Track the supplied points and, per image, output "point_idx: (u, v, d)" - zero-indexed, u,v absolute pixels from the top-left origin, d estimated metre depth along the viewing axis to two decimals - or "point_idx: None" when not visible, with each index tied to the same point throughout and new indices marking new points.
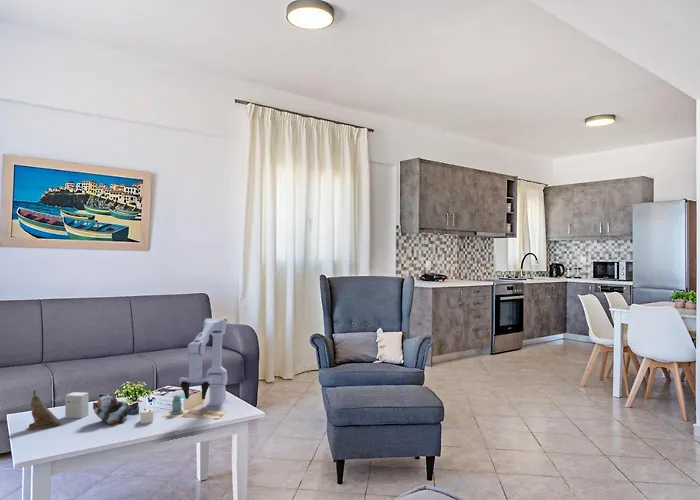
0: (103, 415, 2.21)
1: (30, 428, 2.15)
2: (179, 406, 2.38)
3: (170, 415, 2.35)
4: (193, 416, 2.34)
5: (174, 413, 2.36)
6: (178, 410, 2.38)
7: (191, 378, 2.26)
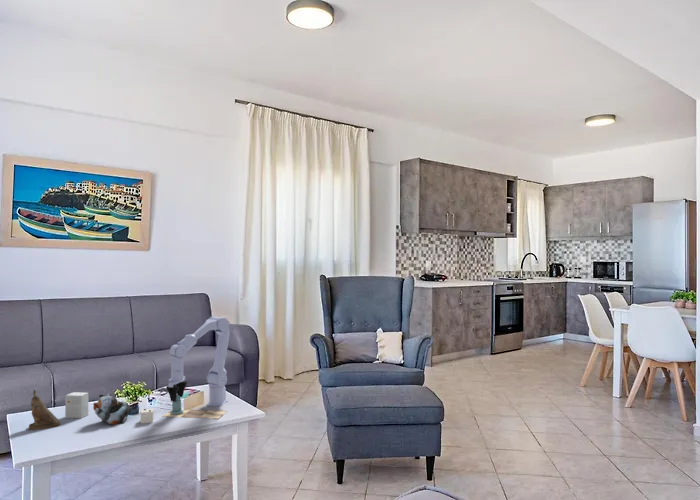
0: (104, 415, 2.20)
1: (30, 428, 2.15)
2: (179, 406, 2.38)
3: (170, 415, 2.35)
4: (193, 416, 2.34)
5: (174, 413, 2.36)
6: (178, 410, 2.38)
7: None
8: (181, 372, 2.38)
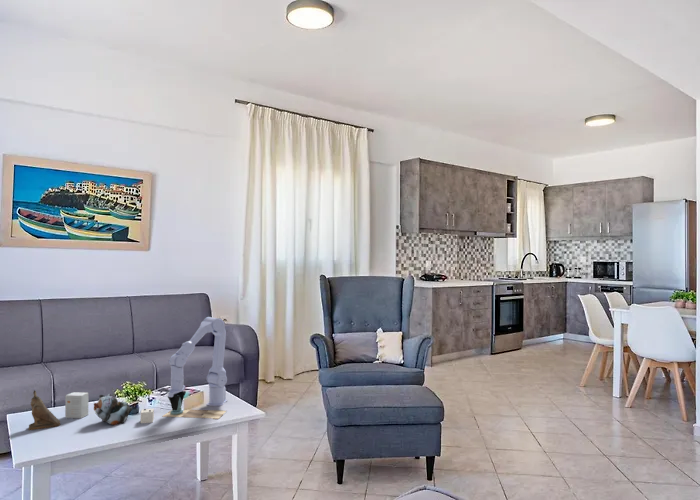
0: (104, 415, 2.20)
1: (30, 428, 2.15)
2: (179, 406, 2.38)
3: (170, 415, 2.35)
4: (193, 416, 2.34)
5: (174, 413, 2.36)
6: (178, 410, 2.38)
7: None
8: (181, 382, 2.38)
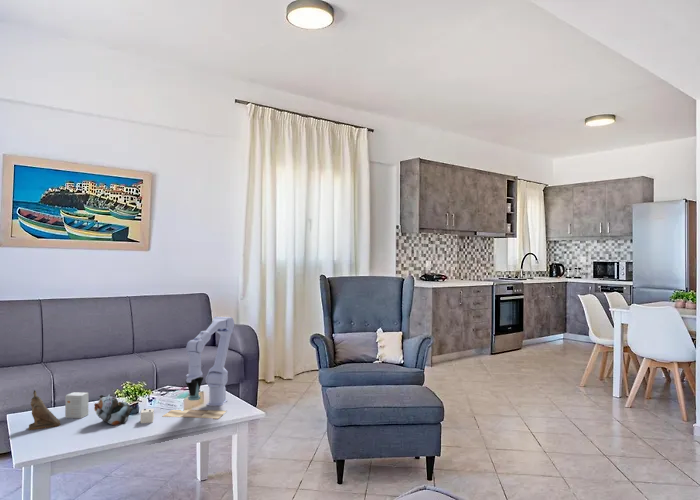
0: (105, 416, 2.20)
1: (30, 428, 2.15)
2: (197, 392, 2.37)
3: (170, 415, 2.35)
4: (193, 416, 2.34)
5: (192, 399, 2.36)
6: (196, 396, 2.37)
7: None
8: (199, 367, 2.37)
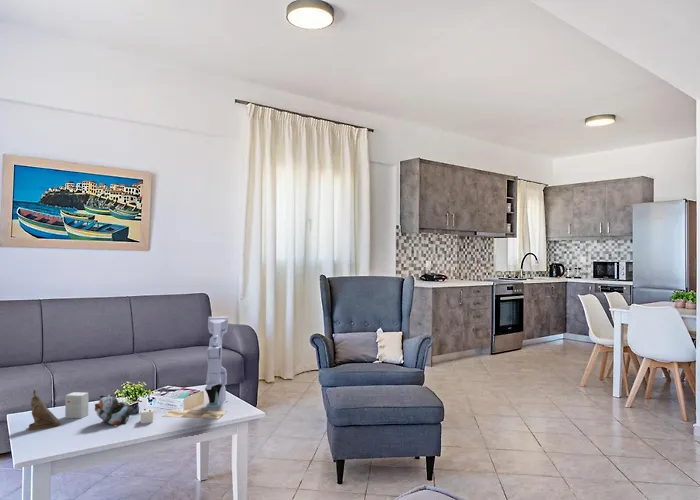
0: (105, 416, 2.19)
1: (30, 428, 2.15)
2: (216, 399, 2.37)
3: (170, 415, 2.35)
4: (193, 416, 2.34)
5: (211, 406, 2.35)
6: (215, 403, 2.36)
7: None
8: (218, 374, 2.37)
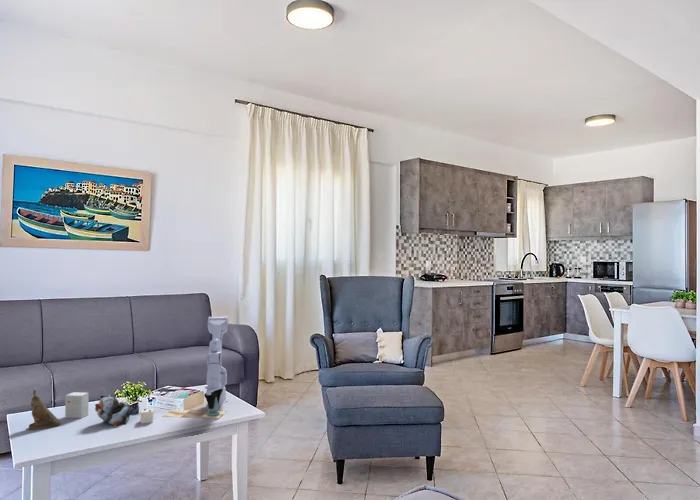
0: (106, 416, 2.19)
1: (30, 428, 2.15)
2: (216, 407, 2.36)
3: (170, 415, 2.35)
4: (193, 416, 2.34)
5: (211, 414, 2.35)
6: (215, 411, 2.36)
7: None
8: (218, 379, 2.36)
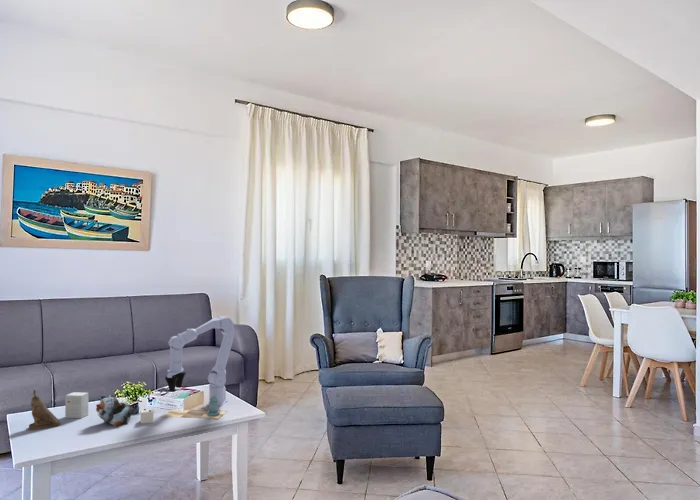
0: (107, 416, 2.19)
1: (30, 428, 2.15)
2: (216, 407, 2.37)
3: (170, 415, 2.35)
4: (193, 416, 2.34)
5: (211, 414, 2.35)
6: (215, 411, 2.36)
7: None
8: (180, 363, 2.42)
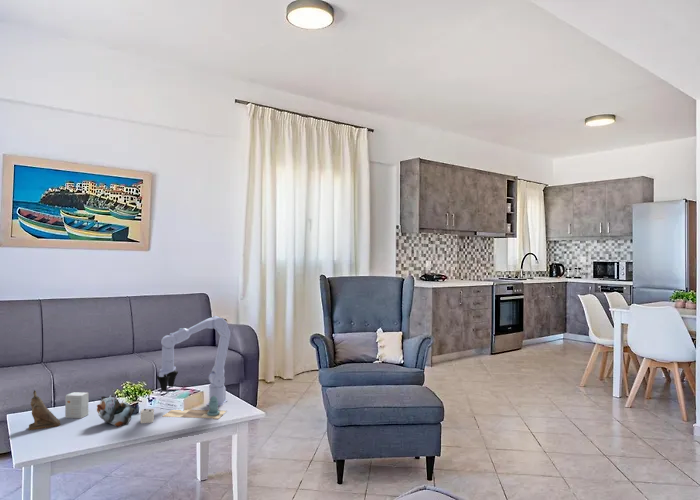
0: (108, 417, 2.18)
1: (30, 428, 2.15)
2: (216, 407, 2.36)
3: (170, 415, 2.35)
4: (193, 416, 2.34)
5: (211, 414, 2.35)
6: (215, 411, 2.36)
7: None
8: (171, 362, 2.44)
